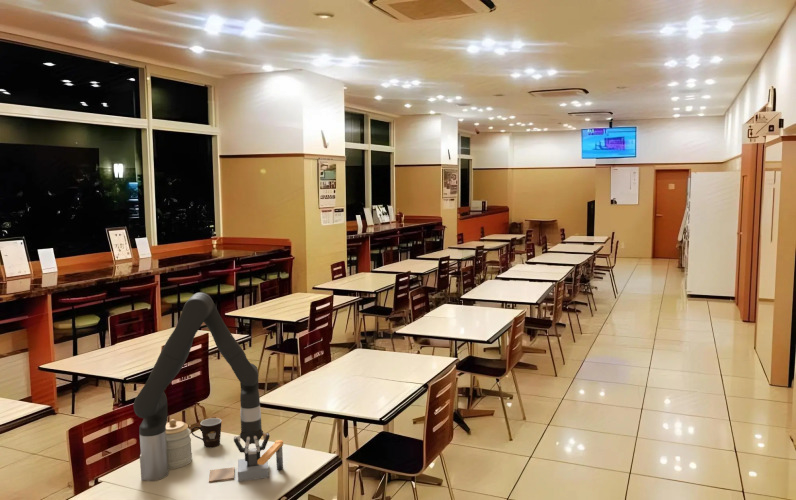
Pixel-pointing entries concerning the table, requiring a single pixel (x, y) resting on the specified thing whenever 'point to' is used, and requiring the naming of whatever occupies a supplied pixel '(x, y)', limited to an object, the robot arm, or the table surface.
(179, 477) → the table surface
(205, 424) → the coffee mug
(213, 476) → the pad
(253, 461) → the plug
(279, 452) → the post
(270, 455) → the orange flat bar
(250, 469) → the socket block
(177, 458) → the jar
